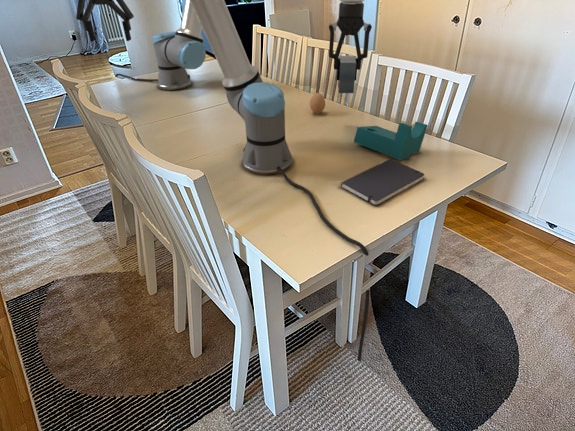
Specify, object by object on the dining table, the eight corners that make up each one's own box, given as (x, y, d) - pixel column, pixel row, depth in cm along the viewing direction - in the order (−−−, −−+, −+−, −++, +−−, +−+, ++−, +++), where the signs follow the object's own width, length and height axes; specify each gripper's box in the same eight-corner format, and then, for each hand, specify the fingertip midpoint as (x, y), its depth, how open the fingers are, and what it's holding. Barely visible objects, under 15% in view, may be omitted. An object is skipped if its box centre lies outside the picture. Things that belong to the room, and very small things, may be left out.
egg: (314, 117, 155) (314, 96, 150) (307, 111, 159) (307, 91, 155) (327, 114, 157) (328, 94, 152) (320, 109, 161) (320, 89, 157)
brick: (337, 85, 142) (339, 55, 136) (352, 85, 142) (354, 55, 136) (338, 93, 135) (340, 62, 129) (353, 93, 135) (356, 62, 129)
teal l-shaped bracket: (417, 156, 130) (427, 124, 125) (399, 160, 122) (409, 126, 118) (372, 139, 141) (380, 110, 136) (353, 141, 133) (361, 110, 129)
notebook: (389, 163, 124) (340, 187, 113) (390, 158, 123) (341, 182, 112) (424, 178, 116) (375, 206, 105) (425, 174, 115) (376, 201, 104)
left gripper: (52, -25, 135) (73, 43, 147) (124, -26, 133) (140, 42, 145) (64, -27, 141) (83, 38, 153) (133, -29, 139) (147, 37, 151)
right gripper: (322, 4, 121) (319, 82, 134) (383, 4, 119) (374, 83, 133) (322, 0, 127) (319, 75, 140) (380, 0, 126) (372, 76, 139)
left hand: (111, 40), depth 149 cm, fingers open, 13 cm apart
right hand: (346, 79), depth 136 cm, fingers closed on brick, 5 cm apart
